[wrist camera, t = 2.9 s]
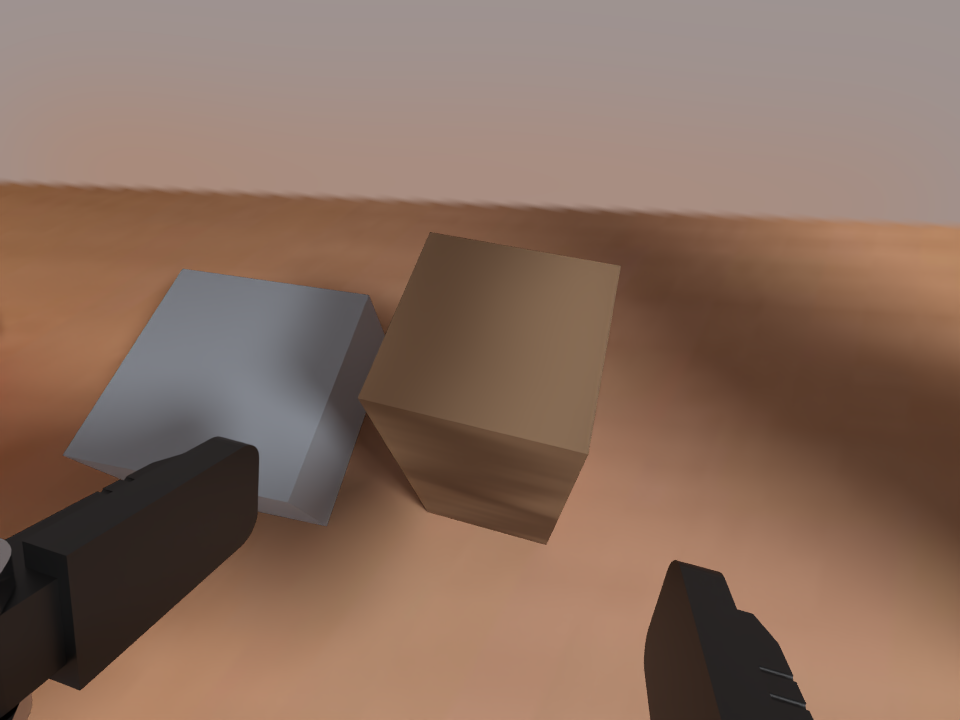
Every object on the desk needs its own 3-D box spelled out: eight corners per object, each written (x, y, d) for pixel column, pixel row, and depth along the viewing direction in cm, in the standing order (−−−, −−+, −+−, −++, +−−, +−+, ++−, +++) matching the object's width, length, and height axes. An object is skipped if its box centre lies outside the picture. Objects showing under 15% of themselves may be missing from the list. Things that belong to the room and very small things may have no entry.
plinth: (390, 348, 22) (368, 294, 19) (328, 527, 18) (287, 502, 15) (230, 323, 23) (182, 268, 20) (141, 487, 19) (62, 455, 16)
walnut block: (568, 430, 20) (620, 265, 11) (546, 544, 17) (588, 454, 9) (461, 405, 20) (430, 231, 12) (427, 512, 18) (357, 397, 9)
